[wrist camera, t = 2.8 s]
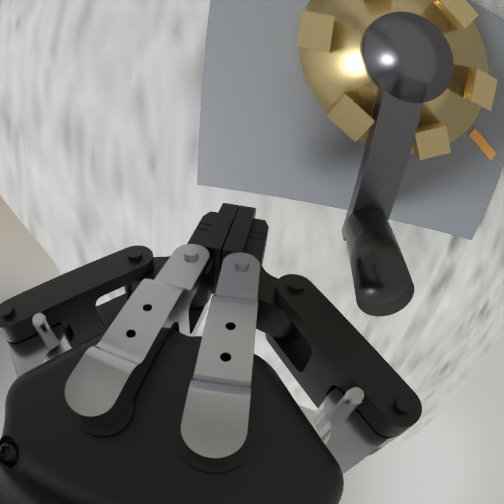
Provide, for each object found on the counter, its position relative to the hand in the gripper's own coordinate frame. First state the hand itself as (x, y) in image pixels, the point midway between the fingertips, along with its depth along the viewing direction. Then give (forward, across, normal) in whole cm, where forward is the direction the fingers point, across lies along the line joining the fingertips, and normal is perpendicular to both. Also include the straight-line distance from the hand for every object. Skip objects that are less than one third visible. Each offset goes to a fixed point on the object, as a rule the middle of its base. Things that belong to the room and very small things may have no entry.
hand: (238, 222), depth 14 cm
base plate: (+7, -6, -7) cm, 12 cm away
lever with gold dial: (+5, -6, -7) cm, 10 cm away
